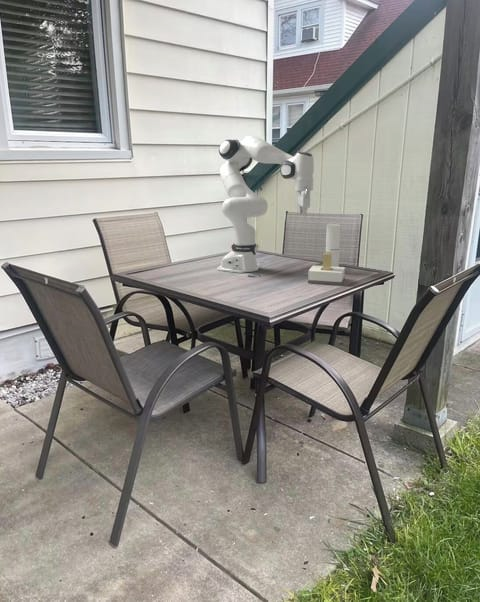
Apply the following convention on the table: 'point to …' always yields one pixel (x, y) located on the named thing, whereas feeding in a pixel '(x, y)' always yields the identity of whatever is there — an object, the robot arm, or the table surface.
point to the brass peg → (327, 261)
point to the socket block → (326, 275)
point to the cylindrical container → (333, 242)
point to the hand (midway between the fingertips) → (303, 215)
